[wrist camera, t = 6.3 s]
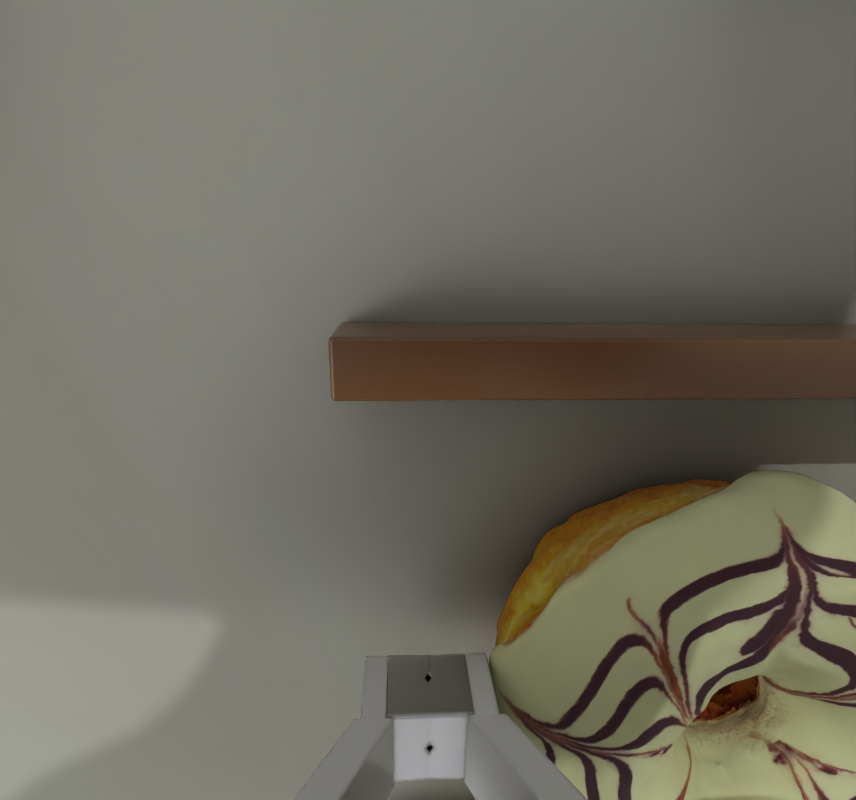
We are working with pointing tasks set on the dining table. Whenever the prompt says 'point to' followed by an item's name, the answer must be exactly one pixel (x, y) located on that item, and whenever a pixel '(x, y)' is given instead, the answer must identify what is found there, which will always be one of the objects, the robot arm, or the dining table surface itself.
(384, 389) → the frame
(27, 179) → the dining table surface
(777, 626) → the decorated donut
